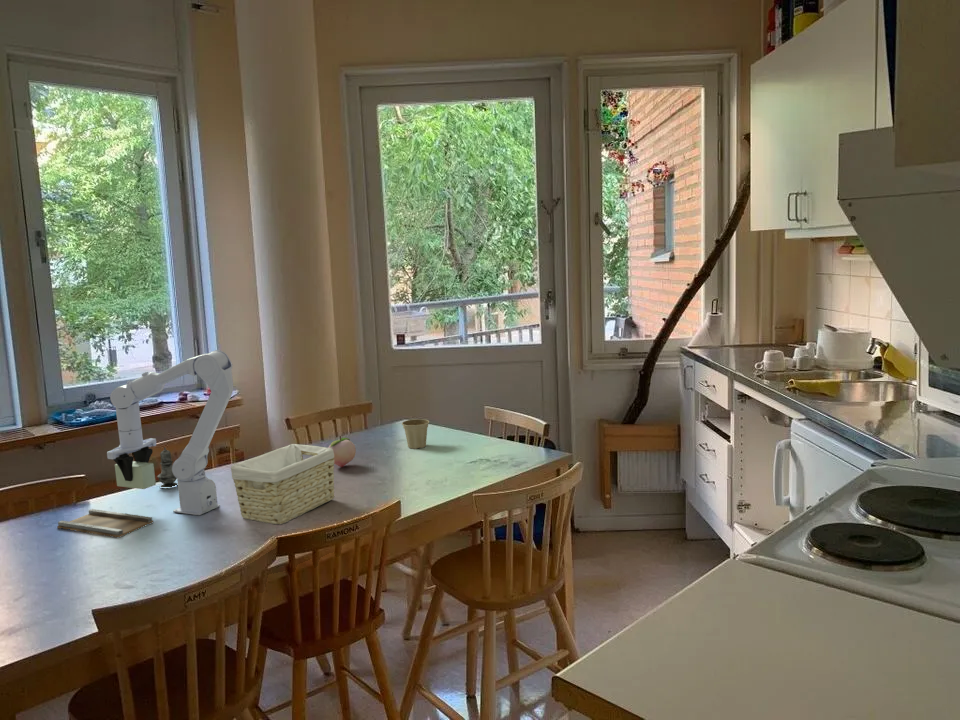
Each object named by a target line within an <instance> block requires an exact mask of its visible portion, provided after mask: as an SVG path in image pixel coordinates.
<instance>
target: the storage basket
mask: <svg viewBox="0 0 960 720" xmlns="http://www.w3.org/2000/svg"><path fill="white" fill-rule="evenodd" d="M304 455H305V456H310V457H308V458H305V459H304V457H303V456H304ZM334 465H335V464H334V452H333V449H332V448H328V447H325V446H324V447H323V446H318V445H311V444H310V445H307V444H298V443H297V444H296V443H291V444H289V445H286V446H284V447H280V448H277V449H275V450H272V451H269V452H266V453H264V454H261V455H258V456H255V457H252V458H249V459H245V460H244V461H239V462H238V463H234V464H233V465H231V466H230V471H231V479H232V480H233V483H234V487H235V492H236V496H237V502H238V505H239V508H240V515H241V517H242V518H243V519H245V520H251V521H256V522H260V523H266V524H272V525H283V524H285V523H287V522H290V521H291V520H293V519H296V517H300V516H302V515H303V514H305V513H308V512H309V511H312V510H314V509H316V508H317V507H319V506H322V505H323V504H325V503H328V502H330V501H331V500H333V499H334V498H336V497H335V480H334V479H335V472H334V471H335V466H334Z"/></svg>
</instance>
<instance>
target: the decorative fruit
mask: <svg viewBox="0 0 960 720" xmlns="http://www.w3.org/2000/svg"><path fill="white" fill-rule="evenodd" d="M327 448H332V449H333V452H334V465H336V466H337V467H340V468H343V467H345V466H346V465H347V464H349V463H350V462H351V461H353V460H354V458H355V456H356V452H357V451H356V450H357V449H356V445H355V444H354V443H353V441H351V439H350V438H348V437H342V435H340V436H339V438H338V439H336V440H334V441H332V442H331V443H330V444H329V446H328V447H327Z"/></svg>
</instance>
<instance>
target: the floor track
mask: <svg viewBox="0 0 960 720" xmlns="http://www.w3.org/2000/svg"><path fill="white" fill-rule="evenodd" d="M152 522H153V523H154V520H153V518H152V517H151V516H143V515H138V514H131V513H122V512H117V511H116V512H115V511H111V510H110V511H109V510H102V509H94V508H92V509H88V514H86V515H83V516H79V517H78V518H75V519H72V520H70V521H67V520H60V521H58V522H57V529H61V528H63V529H62V530H67V529H70V530H69V531H73V530H76V531H75V532H79V531H81V533H86V532H87V534H92V533H93V534H92V535H99V536H104V535H105V537H111V536H113V537H112V538H117V537H119V538H121V537H123V536H125V534H126V535H128V534H130V533H132V531H133V532H135V531H137V530H139V529H138V528H140V529H142V528H144V527H146V526H145V525H147V524H149V525H151V524H153V523H152ZM150 523H151V524H150ZM143 526H144V527H143ZM147 526H148V525H147ZM141 527H142V528H141ZM136 529H137V530H136ZM134 530H135V531H134ZM129 532H130V533H129ZM127 533H128V534H127ZM120 536H121V537H120Z"/></svg>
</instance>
